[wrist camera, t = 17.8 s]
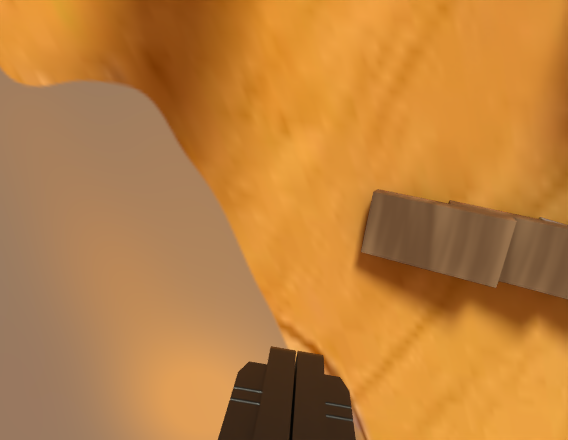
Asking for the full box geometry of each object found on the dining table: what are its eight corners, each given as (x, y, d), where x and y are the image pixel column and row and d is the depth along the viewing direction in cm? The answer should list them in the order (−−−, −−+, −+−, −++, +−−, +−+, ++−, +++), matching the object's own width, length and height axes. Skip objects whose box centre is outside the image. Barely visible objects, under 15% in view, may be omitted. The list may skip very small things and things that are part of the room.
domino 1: (360, 252, 32) (496, 287, 28) (373, 191, 31) (516, 221, 27) (366, 246, 34) (493, 279, 30) (378, 189, 32) (512, 216, 29)
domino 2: (433, 263, 32) (577, 301, 28) (450, 203, 30) (602, 236, 27) (434, 257, 33) (569, 292, 30) (449, 200, 32) (592, 230, 29)
